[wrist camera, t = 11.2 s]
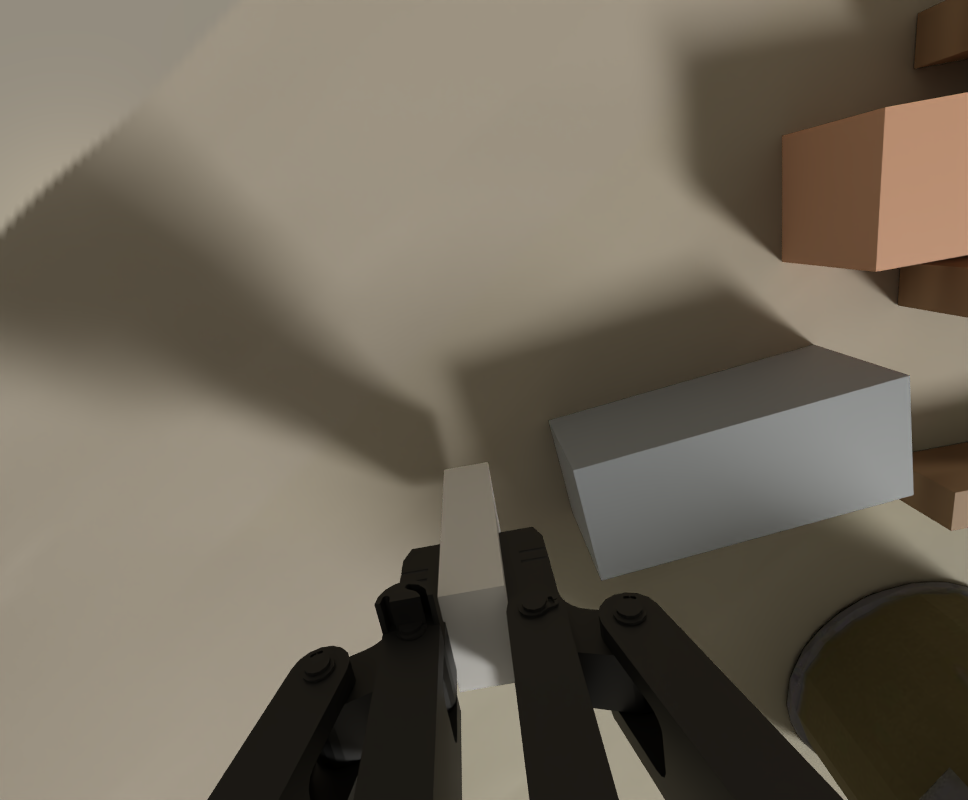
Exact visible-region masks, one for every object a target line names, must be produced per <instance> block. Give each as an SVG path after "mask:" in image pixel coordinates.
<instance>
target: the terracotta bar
mask: <svg viewBox="0 0 968 800" xmlns="http://www.w3.org/2000/svg"><path fill="white" fill-rule="evenodd" d="M965 255H968V92H966V93H961V94H955V95H950V96H944V97H939V98H933V99H928V100H922V101H917V102H911V103H906V104H900V105H895V106H890V107H884V108H881V109H877V110H874V111H870V112H866V113H863V114H859V115H855V116H852V117H848V118H845V119H841V120H837V121H834V122H830V123H826V124H823V125H819V126H816V127H812V128H808V129H805V130H801V131H797V132H794V133H790V134H787V135H783V136H782V262H789V263H798V264H808V265H817V266H827V267H836V268H845V269H855V270H864V271H874V272H877V271H883V270H888V269H894V268H899V267H905V266H910V265H916V264H921V263H927V262H932V261H938V260H943V259H948V258H954V257H959V256H965Z"/></svg>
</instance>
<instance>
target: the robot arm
mask: <svg viewBox="0 0 968 800" xmlns="http://www.w3.org/2000/svg"><path fill="white" fill-rule="evenodd" d="M401 574H402V576H401V579H400V583H398V584H395V585H393V586H391V587H390V588H388V589H386V590H385V591H384V592H383V593H382V594H381V595H380V596H379V597H378V598H377V601H376V603H375V608H376V612H377V615H378V619H379V622H380V626H381V629H382V633H383V636H382V640H381V641H380V642H378V643H377V644H376V645H374V646H372V647H370V648H368V649H367V650H364V651H362V652H360V653H357V654H355V655H353V656H350V657H349V655H348V652H346V651H345V650H344V649H343V648H341V647H336V646H328V647H322V648H319V649H317V650H314V651H312V652H310V653H308V654H307V655H306V656H304V657H303V658H301V659H300V660H299V661H298V662H297V663H296V664H295V666H294V667H293V668H292V669H291V671H290V672H289V674H288V675H287V677H286V679H285V680H284V682H283V683H282V685H281V686H280V688H279V689H278V691H277V693H276V694H275V696H274V697H273V699H272V700H271V702H270V703H269V705H268V706H267V708H266V710H265V711H264V713H263V714H262V716H261V717H260V719H259V720H258V722H257V724H256V725H255V727H254V728H253V730H252V731H251V733H250V734H249V736H248V738H247V739H246V741H245V742H244V744H243V745H242V747H241V748H240V750H239V751H238V753H237V755H236V756H235V758H234V759H233V761H232V762H231V764H230V765H229V767H228V769H227V770H226V772H225V773H224V775H223V776H222V778H221V779H220V781H219V783H218V784H217V786H216V787H215V789H214V790H213V792H212V793H211V795H210V796H209V798H208V800H462V764H461V710H460V706H459V702H458V698H457V682H458V686H459V690H460V692H464V691H470V690H475V689H481V688H487V687H493V686H498V685H504V684H510V683H515V687H516V695H517V703H518V711H519V719H520V727H521V735H522V743H523V751H524V759H525V767H526V775H527V783H528V791H529V799H530V800H619V799H618V795H617V792H616V788H615V784H614V781H613V777H612V774H611V770H610V767H609V763H608V760H607V756H606V752H605V749H604V745H603V742H602V738H601V735H600V731H599V728H598V724H597V720H596V717H595V713H594V710H593V708H597V709H605V710H611V711H612V714H613V717H614V719H615V720H616V722H617V723H618V725H619V727H620V728H621V730H622V731H623V733H624V735H625V736H626V738H627V739H628V741H629V743H630V744H631V746H632V747H633V749H634V751H635V752H636V754H637V755H638V757H639V759H640V760H641V762H642V763H643V765H644V767H645V768H646V770H647V771H648V773H649V775H650V776H651V778H652V779H653V781H654V783H655V784H656V786H657V787H658V789H659V791H660V792H661V794H662V795H663V797H664V799H665V800H843V799H842V797H841V796H840V795H839V794H838V793H837V792H836V791H835V790H834V789H833V788H832V787H831V786H830V785H829V784H828V783H827V782H826V781H825V780H824V779H823V778H822V776H821V775H820V774H819V773H818V772H817V771H816V770H815V769H814V768H813V767H812V766H811V765H810V764H809V763H808V762H807V761H806V760H805V759H804V758H803V757H802V755H801V754H800V753H799V752H798V751H797V750H796V749H795V748H794V747H793V746H792V745H791V744H790V743H789V742H788V741H787V740H786V739H785V738H784V737H783V735H782V734H781V733H780V732H779V731H778V730H777V729H776V728H775V727H774V726H773V725H772V724H771V723H770V722H769V721H768V720H767V719H766V718H765V717H764V716H763V714H762V713H761V712H760V711H759V710H758V709H757V708H756V707H755V706H754V705H753V704H752V703H751V702H750V701H749V700H748V699H747V698H746V697H745V696H744V695H743V693H742V692H741V691H740V690H739V689H738V688H737V687H736V686H735V685H734V684H733V683H732V682H731V681H730V680H729V679H728V678H727V677H726V676H725V675H724V673H723V672H722V671H721V670H720V669H719V668H718V667H717V666H716V665H715V664H714V663H713V662H712V661H711V660H710V659H709V658H708V657H707V656H706V655H705V654H704V652H703V651H702V650H701V649H700V648H699V647H698V646H697V645H696V644H695V643H694V642H693V641H692V640H691V639H690V638H689V637H688V636H687V635H686V634H685V633H684V631H683V630H682V629H681V628H680V627H679V626H678V625H677V624H676V623H675V622H674V621H673V620H672V619H671V618H670V617H669V616H668V615H667V614H666V613H665V611H664V610H663V609H662V608H661V607H660V606H659V605H658V604H657V603H656V602H654V601H653V600H651V599H650V598H649V597H646V596H643V595H640V594H637V593H621V594H616V595H613V596H611V597H610V598H608V599H606V600H605V601H604V602H603V603H602V605H601V606H600V608H599V610H589V609H582V608H578V607H575V606H572V605H570V604H569V603H567V602H565V601H564V600H563V599H562V598H561V597H560V595H559V593H558V590H557V587H556V583H555V579H554V576H553V572H552V569H551V565H550V561H549V558H548V554H547V551H546V547H545V543H544V540H543V536H542V535H541V534H540V533H539V532H538V531H537V530H535V529H534V528H533V527H529V528H523V529H517V530H512V531H506V532H501V530H500V525H499V519H498V514H497V509H496V503H495V498H494V492H493V487H492V481H491V476H490V471H489V465H488V462H485V463H479V464H473V465H468V466H462V467H456V468H451V469H445V470H444V482H443V501H442V521H441V540H440V544H439V545H434V546H428V547H422V548H417V549H412V550H411V551H410V553H409V554H408V556H407V557H406V558H405V560H404V561H403V566H402V573H401Z"/></svg>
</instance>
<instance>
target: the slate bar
mask: <svg viewBox="0 0 968 800" xmlns="http://www.w3.org/2000/svg"><path fill="white" fill-rule="evenodd" d="M549 425H550V428H551V432H552V436H553V440H554V444H555V447H556V451H557V455H558V459H559V463H560V466H561V470H562V474H563V478H564V482H565V485H566V489H567V493H568V497H569V500H570V504H571V508H572V512H573V514H574V517H575V519H576V521H577V524H578V526H579V529H580V531H581V533H582V536H583V538H584V541H585V543H586V545H587V548H588V550H589V552H590V555H591V557H592V560H593V562H594V564H595V567H596V569H597V572H598V574H599V576H600V579H601V581H602V580H606V579H609V578H613V577H617V576H620V575H624V574H628V573H631V572H635V571H639V570H642V569H646V568H650V567H653V566H657V565H661V564H664V563H668V562H671V561H675V560H679V559H682V558H686V557H690V556H693V555H697V554H701V553H704V552H708V551H712V550H715V549H719V548H722V547H726V546H730V545H733V544H737V543H741V542H744V541H748V540H752V539H755V538H759V537H763V536H766V535H770V534H773V533H777V532H781V531H784V530H788V529H792V528H795V527H799V526H803V525H806V524H810V523H814V522H817V521H821V520H824V519H828V518H832V517H835V516H839V515H843V514H846V513H850V512H854V511H857V510H861V509H865V508H868V507H872V506H875V505H879V504H883V503H886V502H890V501H894V500H897V499H901V498H905V497H908V496H912V495H914V491H913V460H912V429H911V399H910V375H906V374H903V373H900V372H897V371H894V370H891V369H888V368H885V367H882V366H879V365H875V364H872V363H869V362H866V361H863V360H860V359H857V358H854V357H851V356H847V355H844V354H841V353H838V352H835V351H832V350H829V349H826V348H823V347H820V346H816V345H811V346H807V347H804V348H800V349H797V350H793V351H790V352H786V353H783V354H779V355H776V356H772V357H769V358H765V359H762V360H758V361H755V362H751V363H748V364H744V365H741V366H737V367H734V368H730V369H727V370H723V371H720V372H716V373H713V374H709V375H706V376H702V377H699V378H695V379H692V380H688V381H685V382H681V383H678V384H674V385H671V386H667V387H664V388H660V389H657V390H653V391H650V392H646V393H643V394H639V395H636V396H632V397H629V398H625V399H622V400H618V401H615V402H611V403H608V404H604V405H601V406H597V407H594V408H591V409H587V410H584V411H580V412H577V413H573V414H570V415H566V416H563V417H559V418H556V419H552V420H549Z"/></svg>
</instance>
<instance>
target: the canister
mask: <svg viewBox="0 0 968 800" xmlns="http://www.w3.org/2000/svg"><path fill="white" fill-rule="evenodd" d="M787 707H788V711H789V716H790V721H791V723H792V725H793V727H794V729H795V731H796V733H797V734H798V736H799V737H800V738H801V740H802V741H803V743H804V744H806V745H807V746H808V747H809V748H810V749H811V750H812V751H814V752H815V753H816V754H817V755H818V757H819V758H820V759H821V761H822V762H823V764H824V765H825V767H826V768H827V770H828V771H829V773H830V774H831V775H832V777H833V778H834V780H835V781H836V783H837V784H838V786H839V787H840V788H841V790H842V791H843V793H844V794H845V796H846V797H847V799H848V800H968V587H966V586H962V585H957V584H952V583H947V582H926V583H910V584H906V585H903V586H899V587H896V588H892V589H889V590H885V591H882V592H879V593H875V594H872V595H870V596H868V597H866V598H864V599H862V600H860V601H858V602H857V603H855V604H854V605H852V606H850V607H849V608H847V609H845V610H844V611H842V612H841V613H839V614H838V615H837V616H835V617H834V618H833V619H832V620H830V621H829V622H828V623H826V624H825V625H824V626H823V627H822V628H821V629H820V630H819V631H818V632H817V634H816V635H815V636H814V637H813V638H812V639H811V641H810V642H809V643H808V644H807V645H806V646H805V648H804V649H803V651H802V653H801V656H800V658H799V660H798V662H797V664H796V666H795V668H794V671H793V673H792V675H791V677H790V681H789V690H788V699H787Z"/></svg>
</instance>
